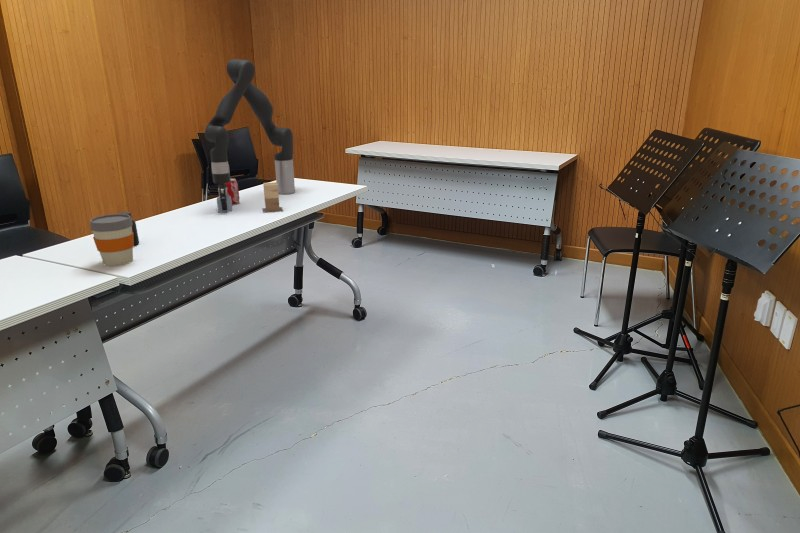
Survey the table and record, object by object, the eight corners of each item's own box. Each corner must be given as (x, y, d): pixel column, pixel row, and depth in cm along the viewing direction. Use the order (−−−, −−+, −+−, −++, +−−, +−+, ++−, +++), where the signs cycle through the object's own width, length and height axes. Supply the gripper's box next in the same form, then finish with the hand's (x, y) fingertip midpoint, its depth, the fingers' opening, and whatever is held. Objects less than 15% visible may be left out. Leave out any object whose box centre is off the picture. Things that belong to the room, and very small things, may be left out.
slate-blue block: (218, 209, 256) (217, 197, 254) (232, 209, 258) (230, 196, 256) (218, 212, 251) (216, 199, 249) (232, 211, 252) (230, 198, 250)
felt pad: (262, 209, 257) (262, 208, 257) (282, 207, 259) (281, 206, 259) (262, 213, 249) (262, 212, 249) (283, 212, 251) (283, 211, 251)
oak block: (264, 196, 254) (263, 182, 252) (277, 195, 255) (276, 182, 253) (265, 198, 248) (263, 185, 246) (278, 197, 250) (277, 184, 248)
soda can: (230, 206, 262) (228, 181, 258) (221, 204, 266) (218, 179, 262) (243, 203, 267) (240, 179, 263) (233, 202, 272) (231, 177, 268)
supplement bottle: (124, 242, 209) (119, 211, 205) (142, 242, 208) (137, 211, 204) (115, 247, 202) (109, 215, 198) (133, 247, 202) (128, 215, 198)
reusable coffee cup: (89, 263, 185) (80, 220, 180) (124, 253, 195) (116, 212, 190) (112, 270, 179) (103, 225, 174) (146, 259, 189) (139, 216, 184)
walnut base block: (265, 208, 256) (264, 195, 254) (278, 207, 257) (277, 195, 255) (266, 211, 250) (265, 198, 248) (279, 210, 252) (278, 197, 250)
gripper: (229, 174, 243) (233, 211, 248) (229, 168, 256) (233, 204, 261) (211, 174, 241) (215, 212, 246) (212, 169, 254) (217, 205, 259)
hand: (225, 208), depth 254 cm, fingers closed on slate-blue block, 6 cm apart
